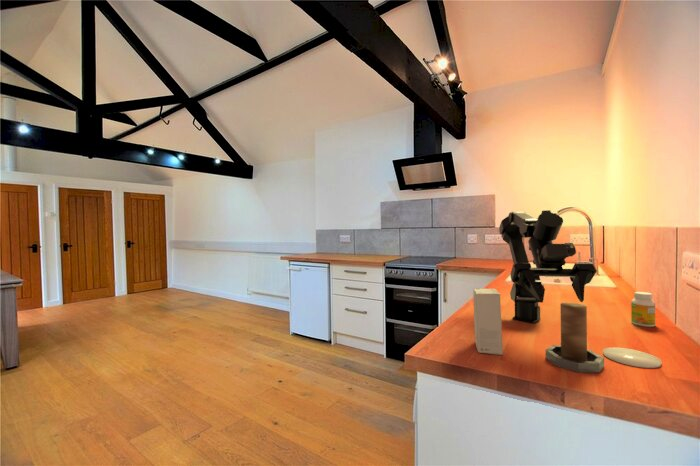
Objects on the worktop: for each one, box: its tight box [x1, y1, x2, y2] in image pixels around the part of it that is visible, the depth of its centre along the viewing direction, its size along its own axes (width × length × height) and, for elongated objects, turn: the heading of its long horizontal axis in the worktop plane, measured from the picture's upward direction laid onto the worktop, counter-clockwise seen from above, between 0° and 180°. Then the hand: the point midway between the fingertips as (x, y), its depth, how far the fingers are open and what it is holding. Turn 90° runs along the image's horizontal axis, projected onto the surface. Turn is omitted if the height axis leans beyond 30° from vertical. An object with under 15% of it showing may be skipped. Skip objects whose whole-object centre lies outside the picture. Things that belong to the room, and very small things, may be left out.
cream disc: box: [602, 346, 662, 369], centre depth 72 cm, size 10×10×1 cm
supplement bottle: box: [630, 291, 656, 328], centre depth 96 cm, size 5×5×10 cm
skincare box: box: [472, 288, 504, 356], centre depth 79 cm, size 8×6×15 cm
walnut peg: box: [560, 302, 588, 361], centre depth 70 cm, size 5×5×13 cm
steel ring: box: [545, 344, 605, 374], centre depth 70 cm, size 10×10×2 cm
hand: (560, 300), depth 76 cm, fingers open, 9 cm apart
